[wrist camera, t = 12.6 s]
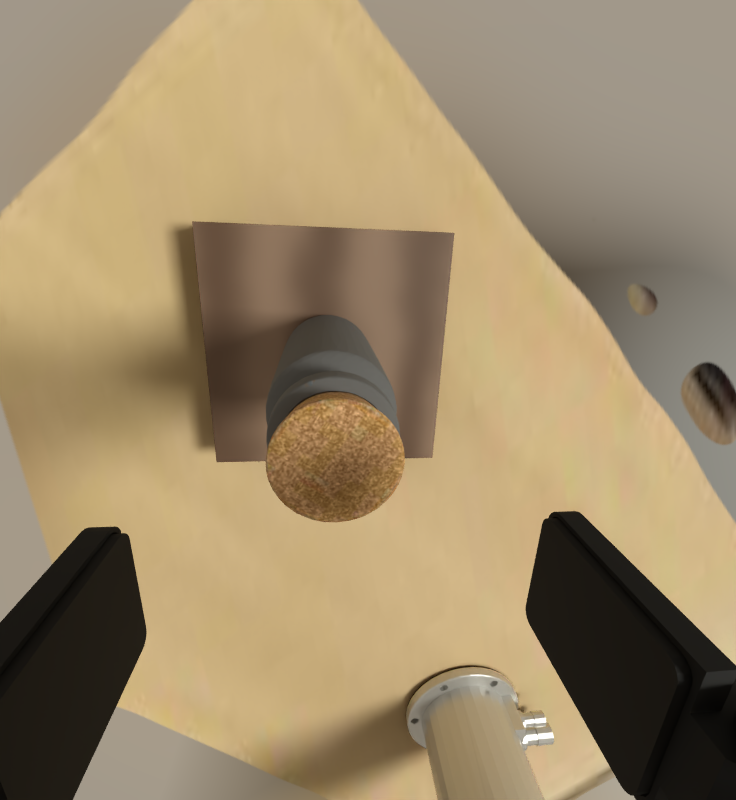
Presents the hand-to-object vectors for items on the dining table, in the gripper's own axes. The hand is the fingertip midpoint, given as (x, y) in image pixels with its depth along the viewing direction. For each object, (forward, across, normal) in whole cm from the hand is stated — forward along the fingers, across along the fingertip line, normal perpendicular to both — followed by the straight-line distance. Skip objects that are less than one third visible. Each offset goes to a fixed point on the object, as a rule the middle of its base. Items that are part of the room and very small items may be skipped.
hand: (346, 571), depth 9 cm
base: (+23, 0, -1) cm, 23 cm away
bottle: (+20, 0, 0) cm, 20 cm away
